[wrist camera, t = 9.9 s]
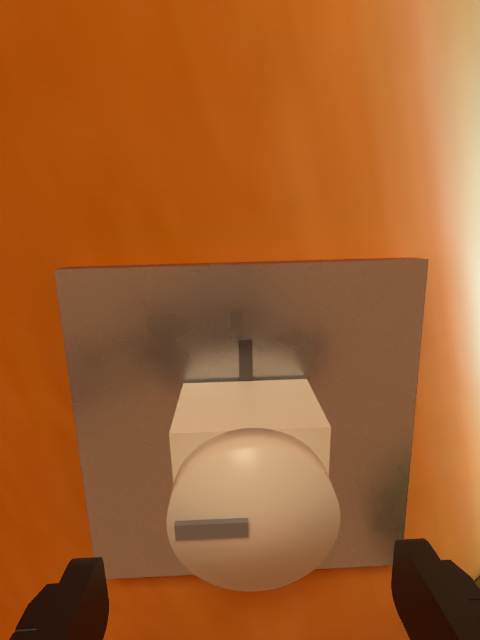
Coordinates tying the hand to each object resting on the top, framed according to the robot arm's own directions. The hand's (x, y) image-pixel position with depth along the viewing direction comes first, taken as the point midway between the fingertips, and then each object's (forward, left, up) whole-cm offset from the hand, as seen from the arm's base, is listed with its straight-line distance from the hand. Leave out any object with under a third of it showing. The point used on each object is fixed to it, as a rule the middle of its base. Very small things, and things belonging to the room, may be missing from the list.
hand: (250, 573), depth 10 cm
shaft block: (0, 0, -9) cm, 9 cm away
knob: (0, 0, -7) cm, 7 cm away
